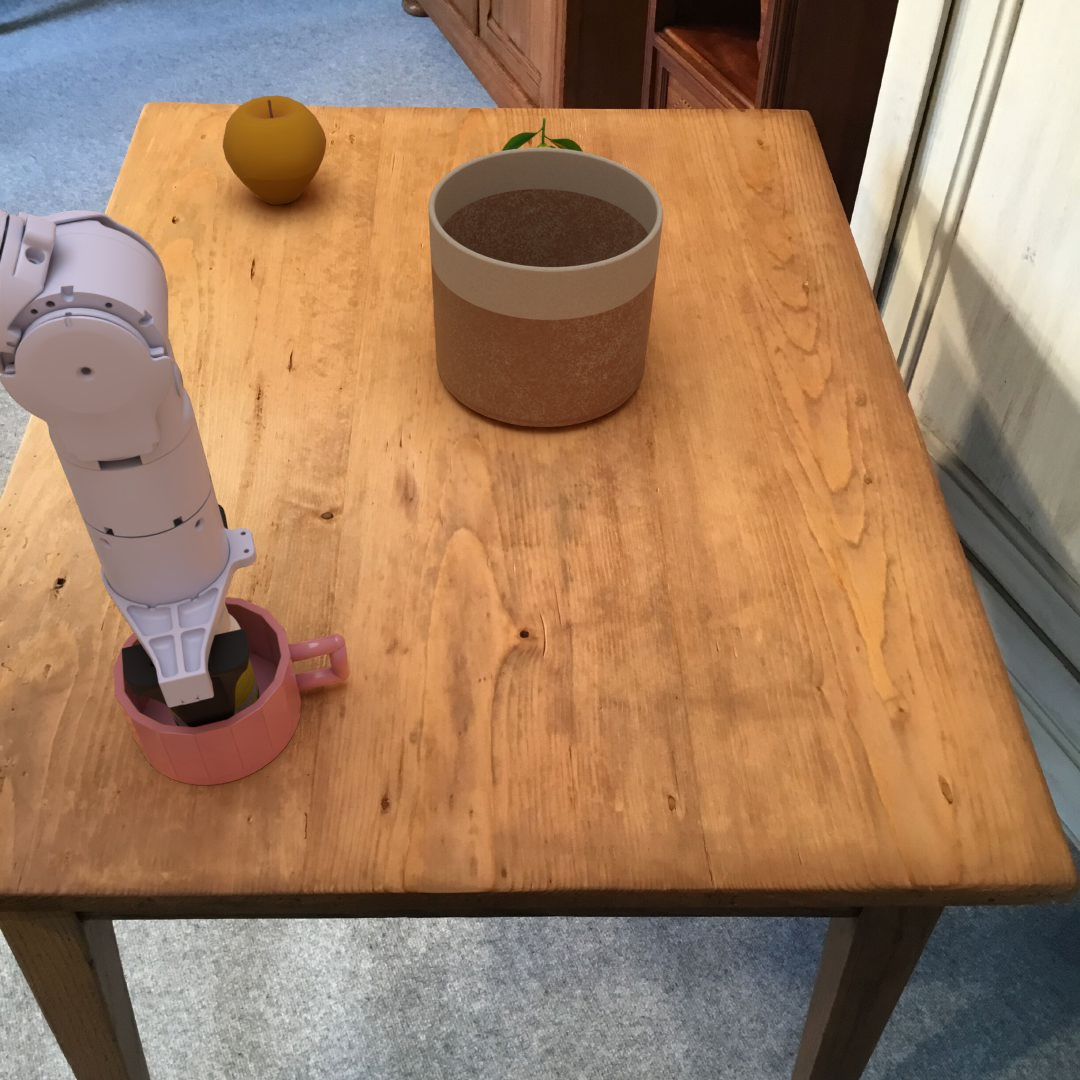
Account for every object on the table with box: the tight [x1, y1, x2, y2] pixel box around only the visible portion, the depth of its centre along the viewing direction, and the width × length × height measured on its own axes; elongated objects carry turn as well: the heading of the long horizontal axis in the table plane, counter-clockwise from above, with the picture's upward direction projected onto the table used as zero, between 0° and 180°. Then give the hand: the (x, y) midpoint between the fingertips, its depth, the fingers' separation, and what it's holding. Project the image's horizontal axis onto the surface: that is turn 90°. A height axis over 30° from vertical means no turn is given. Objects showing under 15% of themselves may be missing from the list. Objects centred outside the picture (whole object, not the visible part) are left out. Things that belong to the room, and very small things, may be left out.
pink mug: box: [112, 596, 351, 786], centre depth 60 cm, size 12×9×5 cm
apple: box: [222, 95, 327, 206], centre depth 96 cm, size 9×9×9 cm
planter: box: [427, 147, 664, 428], centre depth 78 cm, size 16×16×14 cm
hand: (205, 672), depth 58 cm, fingers open, 6 cm apart
